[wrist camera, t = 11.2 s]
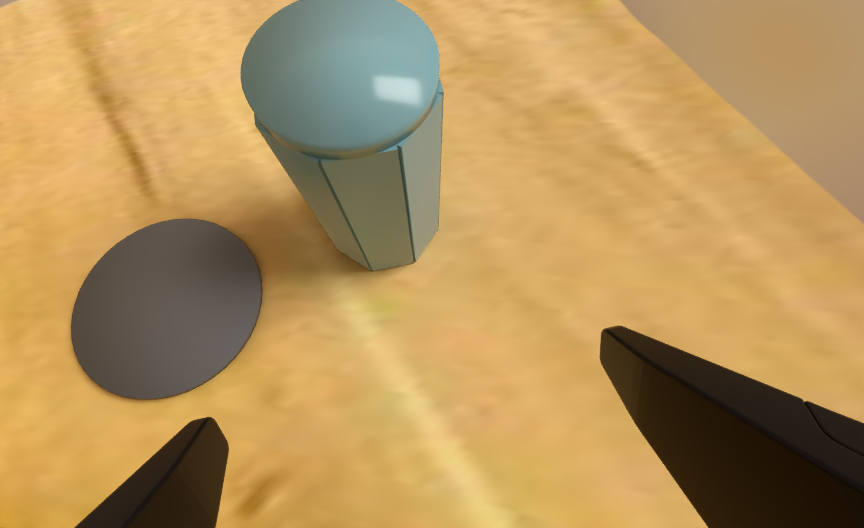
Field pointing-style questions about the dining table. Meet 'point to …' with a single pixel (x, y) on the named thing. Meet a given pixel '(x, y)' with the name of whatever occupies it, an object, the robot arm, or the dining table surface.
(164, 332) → the disc
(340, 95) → the blue-grey tall faceted cylinder
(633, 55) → the dining table surface
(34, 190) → the dining table surface
